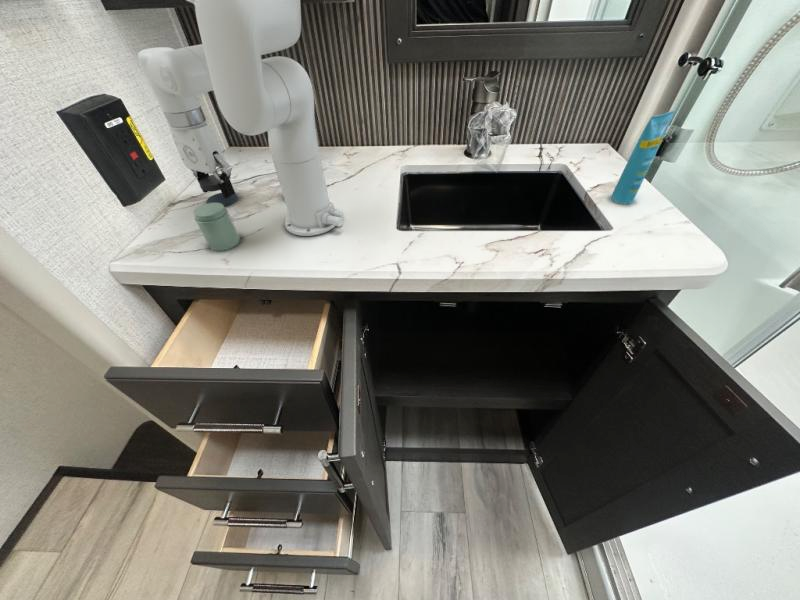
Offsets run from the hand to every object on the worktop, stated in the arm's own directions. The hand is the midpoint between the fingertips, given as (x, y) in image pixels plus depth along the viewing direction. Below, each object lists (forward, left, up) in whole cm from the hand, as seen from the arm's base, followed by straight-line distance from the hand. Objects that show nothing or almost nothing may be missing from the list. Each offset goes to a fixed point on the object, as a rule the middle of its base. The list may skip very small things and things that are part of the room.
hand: (219, 192), depth 86 cm
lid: (0, 0, +3) cm, 3 cm away
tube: (-93, -40, -2) cm, 102 cm away
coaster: (0, 0, -2) cm, 2 cm away
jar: (-16, +14, -2) cm, 21 cm away
